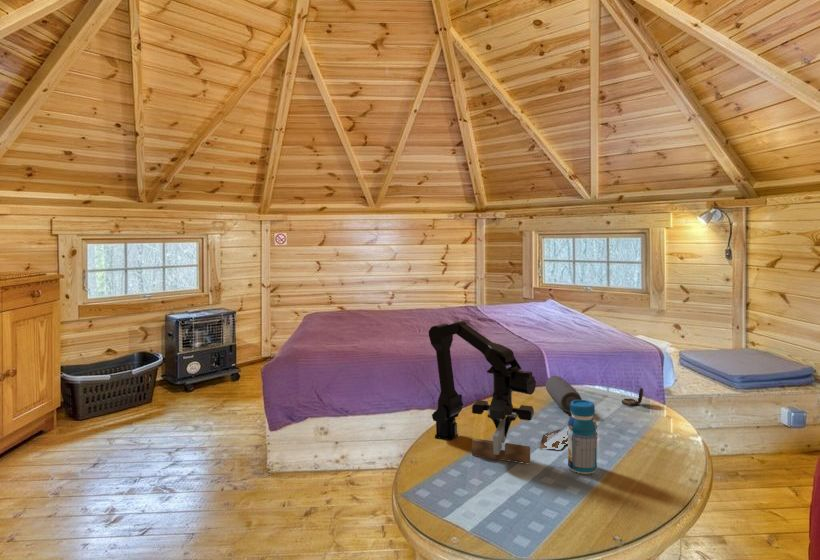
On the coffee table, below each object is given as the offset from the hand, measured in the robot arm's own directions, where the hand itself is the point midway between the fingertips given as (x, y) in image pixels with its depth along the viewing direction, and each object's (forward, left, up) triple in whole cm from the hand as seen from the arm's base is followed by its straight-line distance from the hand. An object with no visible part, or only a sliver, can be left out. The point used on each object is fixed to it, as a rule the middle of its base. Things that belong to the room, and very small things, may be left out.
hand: (502, 435), depth 153 cm
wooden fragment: (+16, +19, -7) cm, 26 cm away
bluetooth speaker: (+13, +52, -6) cm, 54 cm away
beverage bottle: (+24, -2, -6) cm, 25 cm away
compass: (+39, +63, -6) cm, 74 cm away
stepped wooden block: (0, -4, -6) cm, 7 cm away
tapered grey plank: (0, -3, -2) cm, 4 cm away
